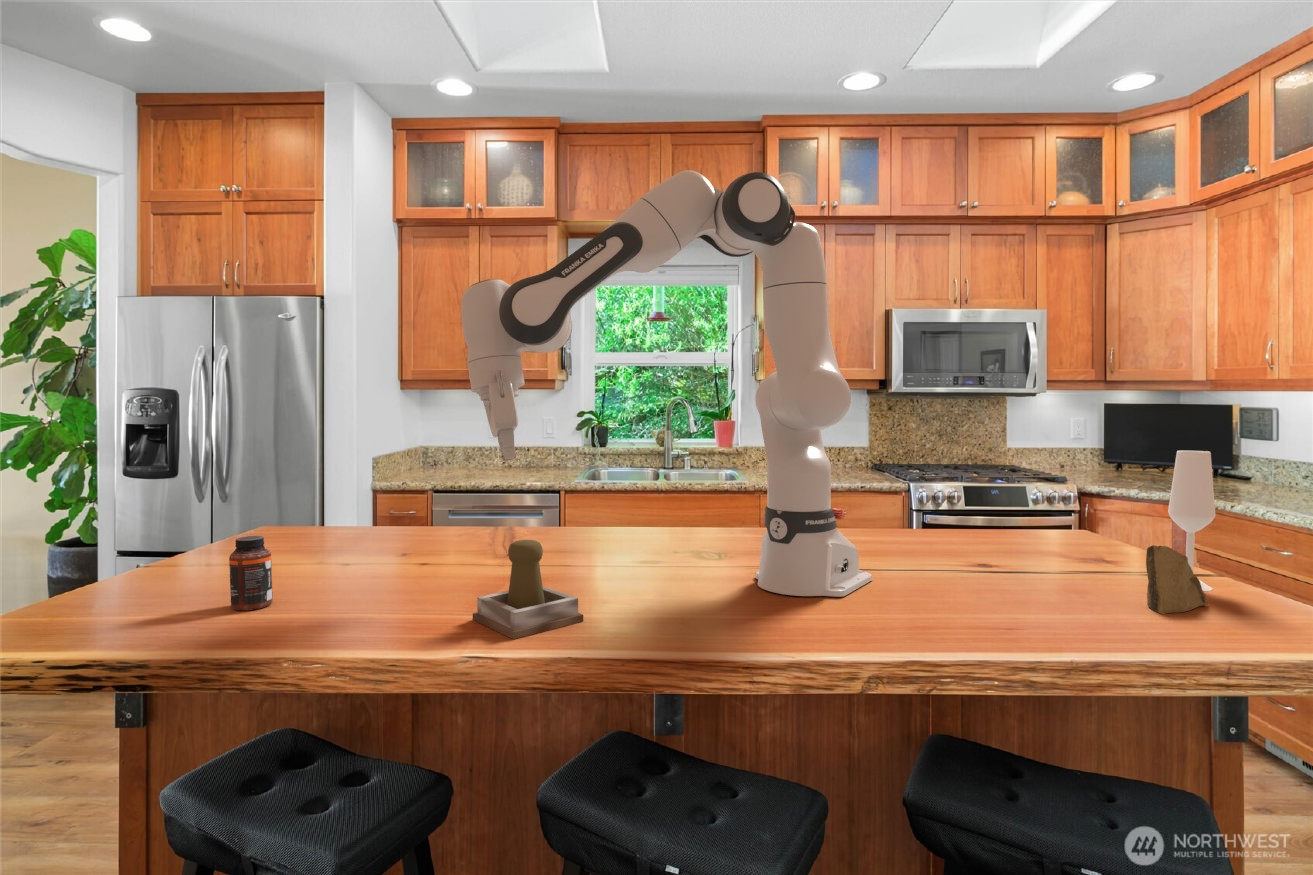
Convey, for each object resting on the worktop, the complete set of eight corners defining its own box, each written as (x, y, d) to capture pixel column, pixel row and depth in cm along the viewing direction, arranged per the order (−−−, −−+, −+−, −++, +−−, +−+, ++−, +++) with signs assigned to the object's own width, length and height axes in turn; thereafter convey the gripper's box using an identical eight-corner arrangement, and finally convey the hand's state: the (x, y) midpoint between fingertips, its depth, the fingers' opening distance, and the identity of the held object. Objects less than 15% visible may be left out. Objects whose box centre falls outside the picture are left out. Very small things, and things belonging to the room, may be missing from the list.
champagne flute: (1220, 588, 124) (1226, 452, 123) (1199, 593, 121) (1204, 453, 120) (1178, 579, 130) (1183, 449, 129) (1157, 583, 127) (1161, 450, 126)
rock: (1193, 584, 118) (1128, 573, 120) (1219, 551, 112) (1150, 540, 114) (1215, 639, 110) (1145, 626, 112) (1245, 606, 104) (1170, 593, 106)
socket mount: (539, 604, 116) (539, 583, 115) (583, 621, 107) (583, 598, 106) (472, 619, 108) (472, 597, 107) (513, 639, 99) (513, 614, 98)
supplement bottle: (281, 603, 116) (279, 535, 116) (247, 613, 111) (244, 542, 110) (257, 599, 119) (254, 533, 118) (222, 609, 114) (220, 539, 113)
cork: (536, 619, 104) (536, 545, 104) (499, 616, 106) (498, 543, 105) (552, 607, 110) (551, 537, 110) (516, 605, 112) (515, 536, 111)
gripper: (519, 365, 109) (532, 454, 109) (513, 384, 129) (523, 459, 129) (477, 370, 108) (490, 460, 107) (477, 388, 127) (488, 464, 127)
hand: (508, 459), depth 118 cm, fingers open, 8 cm apart
